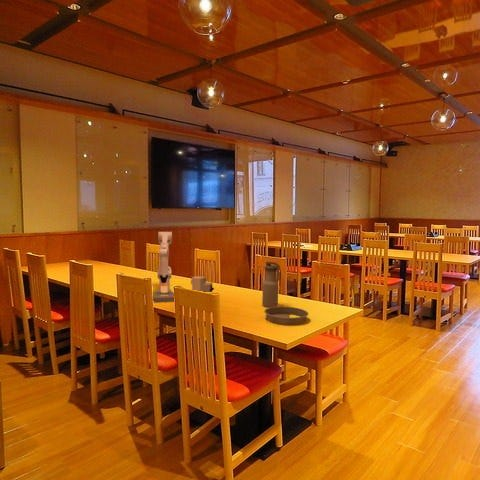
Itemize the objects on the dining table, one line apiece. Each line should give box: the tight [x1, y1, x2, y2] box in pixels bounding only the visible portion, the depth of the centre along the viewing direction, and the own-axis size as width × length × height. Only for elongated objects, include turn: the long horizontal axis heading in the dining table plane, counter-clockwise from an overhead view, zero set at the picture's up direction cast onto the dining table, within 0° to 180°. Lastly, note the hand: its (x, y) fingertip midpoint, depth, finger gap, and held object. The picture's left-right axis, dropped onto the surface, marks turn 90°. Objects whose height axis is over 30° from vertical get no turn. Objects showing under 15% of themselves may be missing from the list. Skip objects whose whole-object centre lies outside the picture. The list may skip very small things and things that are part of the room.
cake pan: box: [263, 306, 309, 326], centre depth 223 cm, size 25×25×4 cm
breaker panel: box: [152, 288, 175, 303], centre depth 265 cm, size 18×18×6 cm
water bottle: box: [261, 260, 281, 308], centre depth 251 cm, size 10×10×28 cm
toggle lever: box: [160, 283, 168, 294], centre depth 268 cm, size 2×5×7 cm, turn 103°
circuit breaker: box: [190, 275, 215, 293], centre depth 264 cm, size 8×14×15 cm, turn 78°
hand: (163, 285), depth 274 cm, fingers closed
